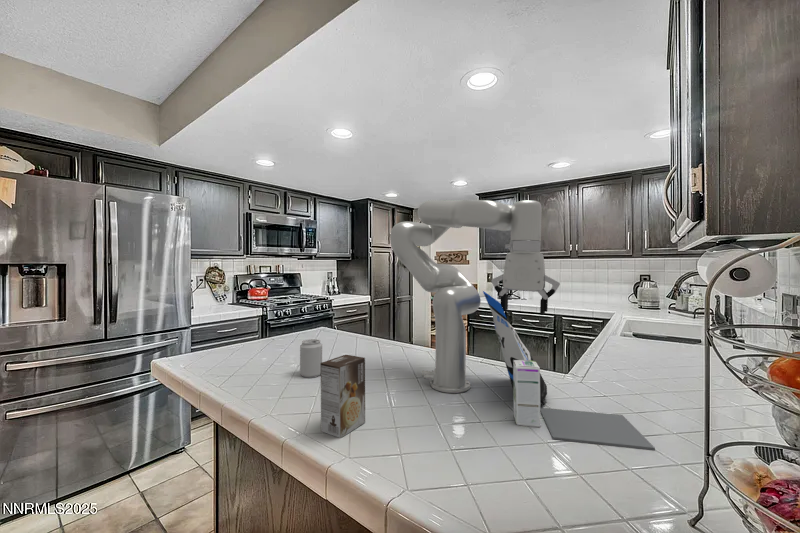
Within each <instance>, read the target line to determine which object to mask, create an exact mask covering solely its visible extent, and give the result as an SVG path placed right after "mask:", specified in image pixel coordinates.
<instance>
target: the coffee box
mask: <svg viewBox="0 0 800 533" xmlns="http://www.w3.org/2000/svg"><path fill="white" fill-rule="evenodd" d="M320 364H321V374H320V431H321V432H322V433H326V434H328V435H331V436H334V437H335V438H336V437H337V438H339V439H342V438H343V437H344V436H346V435H348V434H349V433H350V432H352V431H355V429H357V428H359V427H360V426H362V425H364V424H365V423H366V357H363V356H357V355H356V356H355V355H351V354H343V355H340V356H337V357H334V358H331V359H328V360H325V361H322V363H320Z"/></svg>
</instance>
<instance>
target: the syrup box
mask: <svg viewBox="0 0 800 533" xmlns="http://www.w3.org/2000/svg"><path fill="white" fill-rule="evenodd" d="M540 374H541V368H540V366H539V365H538V363H537V361H536V360H534V361H531V360H514V361H513V387H512V390H513V397H512V398H513V417H514V422H515V425H517V426H522V427H523V426H524V427H531V428H532V427H534V428H541V412H540V408H541V403H540Z"/></svg>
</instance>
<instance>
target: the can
mask: <svg viewBox="0 0 800 533" xmlns="http://www.w3.org/2000/svg"><path fill="white" fill-rule="evenodd" d="M299 362H300V363H299V374H300V375H301V376H302V377H303V378H308V379H312V378H316V377H319V376H321V364H320V363H322V362H323V343H321V340H320V339H318V338H317V339H316V338H309V339H305V340H303V341H302V342H301V345H300V347H299Z"/></svg>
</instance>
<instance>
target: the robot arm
mask: <svg viewBox="0 0 800 533" xmlns="http://www.w3.org/2000/svg"><path fill="white" fill-rule="evenodd" d="M542 208H543V207H542V204H541V202H539V201H538V200H528V199H527V200H520V201H519V200H517V201H516V202H514V203H513V204H508V203H502V202H499V201H494V200H490V199H488V200H487V199H486V200H485V199H462V200H461V199H460V200H459V199H458V200H452V199H451V200H447V199H446V200H445V199H443V200H442V199H429V200H425V201H423V202H421V204H419V206H418V209H417V213H416V214H417V218H418V219H419V220H420V222H416V221H410V220H409V221H407V220H406V221H401V222H398V223H396V224H395V225H393V227H392V228H391V231H390V236H389V237H390V239H389V240H390V247H391V249H392V251H393V253H394V255H395V256H396V257H397V259H398V260H399V262H401V263H402V265H404V266H405V268H406V269H407V270H408V271H409V273H410V274H411V275H412V276H413V278H414V279H415V280H416V281H417V283H418V284H419V286H421V288H422V289H423V290H424V291H425V292H428V293H434V295H433V298H432V310H433V315H434V324H435V325H434V326H435V327H434V328H435V360H434V361H435V368H434V370H431V371H428V370H422V371H421V378H424V379H425V380H429V379H430V387H431V388H433V390H436V391H437V392H442V393H446V394H447V393H450V394H459V393H464V392H467V391H469V390H470V389H471V382H470V381H469V380H468V379H466V368H467V367H466V362H467V359H466V356H467V355H466V353H467V352H466V351H467V350H466V349H467V338H466V337H467V336H466V333H467V331H466V326H465V321H464V319H463V317H462V316H465V315H470V314H474V313H475V312H476V311H478V309H479V308H480V307H481V302H482V300H481V295H480V293H479V291H478V290H477V289H476V287H475V286H474V285H473V284H472V282H470V281H469V280H468V278H467V277H466V276H465V275H464V274H463V273H462V271H461V270H459V269H458V268H457V267H455V266H454V265H451V264H448V263H447V264H445V263H444V264H443V263H437V262H435V261H434V260H433V259H432V258H431V257H430V256H429V255H428V254H427V252H425V251H424V250H423V249H421V247H429V246H431V245H433V244H434V243H435V242H436V241H437V240H439V238H441V237H442V236H443V235H444V234H445V233H446V232H447V231H448V230H449V229H450V228H452V229H453V228H454V229H461V228H463V227H468V228H479V229H486V230H487V229H488V230H495V231H501V232H508V231H510V241H509V242H508V243H505V244H504V248H505V250H506V249H507V250H509V252H506V257H505V261H504V267H503V268H504V269H503V274H501V275H498V276H496V277H494V278H492V279H491V280H490V281H491V283H492V286H493V287H494V290H495V291H496V292H497V293H498V294H499V296H500V304H501V306H502V308H503V311H504V312H505V311H508V309H509V296H508V295H507V294H508V293H509V292H510V291H519V292H533V293H534V292H537V293H538V294H539V295H540V296H541V299H540V302H539V303H540V304H539V308H540V309H539V314H540V315H541V316H544V315H545V314H546V312H548V307H549V306H548V304H549V303H548V301H549V299H550V298H551V296H553V295H554V294H555V293H556V292H557V290H559V287H560V285H561V283H560V282H559V281H557V280H556V279H554V278H552V277H550V276H548V275H546V266H545V264H546V263H545V259H544V254H543V253H542V252H541V246H542V245H541V244H542V242H541V241H542V240H541V239H542V213H543V212H542V210H543V209H542ZM500 281H502V287H503V288H502V287H501V286H500V284H499V282H500ZM546 282H547V283H549V285H551V286H552V287H551V288H550V290H548V291H547V290H545V288H546Z"/></svg>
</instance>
